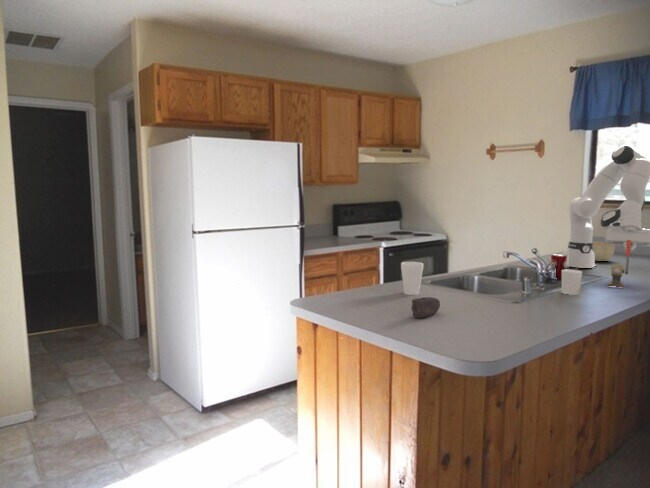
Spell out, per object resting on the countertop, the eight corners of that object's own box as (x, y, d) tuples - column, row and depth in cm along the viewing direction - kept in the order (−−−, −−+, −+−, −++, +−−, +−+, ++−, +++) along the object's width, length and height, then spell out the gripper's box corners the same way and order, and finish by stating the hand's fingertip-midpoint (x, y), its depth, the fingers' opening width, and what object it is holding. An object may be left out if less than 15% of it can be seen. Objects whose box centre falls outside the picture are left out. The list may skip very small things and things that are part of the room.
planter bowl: (614, 260, 304) (616, 242, 303) (613, 264, 291) (615, 245, 289) (585, 258, 313) (586, 241, 312) (582, 261, 299) (584, 243, 298)
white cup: (585, 295, 211) (586, 271, 209) (571, 296, 208) (572, 273, 206) (569, 291, 218) (571, 268, 217) (556, 292, 215) (557, 270, 214)
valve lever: (624, 273, 228) (626, 239, 226) (628, 274, 227) (631, 239, 226) (624, 274, 226) (627, 240, 224) (628, 274, 225) (631, 240, 223)
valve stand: (609, 283, 235) (610, 264, 234) (623, 284, 232) (624, 265, 231) (608, 287, 226) (610, 267, 225) (623, 288, 224) (624, 268, 223)
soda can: (550, 279, 244) (552, 255, 242) (548, 277, 251) (549, 253, 249) (566, 280, 242) (568, 256, 240) (564, 277, 249) (565, 254, 247)
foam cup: (397, 294, 212) (398, 264, 210) (404, 290, 220) (405, 261, 218) (419, 296, 207) (419, 266, 206) (425, 292, 216) (426, 262, 214)
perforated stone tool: (433, 311, 185) (434, 292, 184) (445, 314, 181) (445, 295, 180) (406, 318, 175) (406, 298, 174) (417, 321, 171) (418, 301, 170)
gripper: (655, 233, 233) (655, 257, 225) (605, 231, 243) (604, 254, 236) (657, 225, 228) (657, 248, 221) (606, 223, 238) (604, 245, 231)
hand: (629, 251), depth 228 cm, fingers closed
